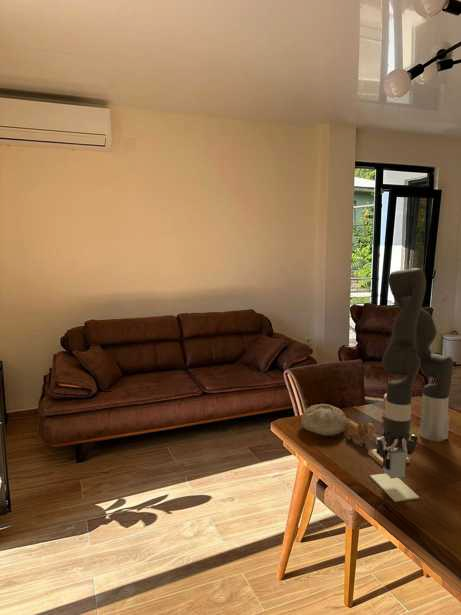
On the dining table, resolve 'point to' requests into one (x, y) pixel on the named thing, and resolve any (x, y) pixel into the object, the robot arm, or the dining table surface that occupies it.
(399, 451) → the block
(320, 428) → the decorative shell
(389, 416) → the robot arm
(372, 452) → the pocket frame
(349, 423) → the lion figurine
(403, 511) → the dining table surface
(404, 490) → the tile
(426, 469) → the dining table surface
